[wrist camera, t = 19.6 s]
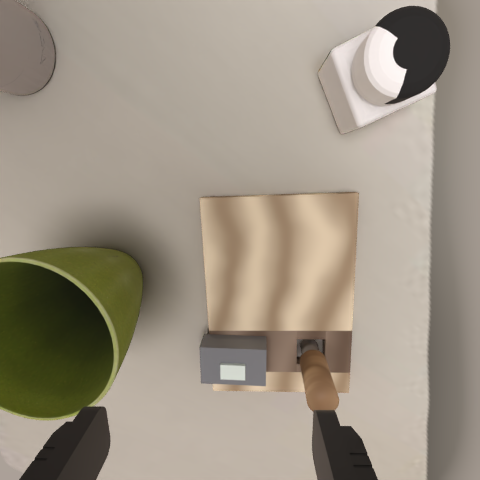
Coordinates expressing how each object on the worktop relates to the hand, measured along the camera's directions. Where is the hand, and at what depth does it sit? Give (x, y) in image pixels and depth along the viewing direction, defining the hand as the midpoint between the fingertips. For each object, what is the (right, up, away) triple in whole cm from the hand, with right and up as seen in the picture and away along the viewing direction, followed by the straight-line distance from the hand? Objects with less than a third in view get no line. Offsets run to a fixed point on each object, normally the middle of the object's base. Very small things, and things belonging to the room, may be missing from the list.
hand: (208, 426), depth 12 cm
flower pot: (-15, +2, +29) cm, 33 cm away
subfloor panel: (+6, 0, +28) cm, 29 cm away
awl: (+10, -7, +29) cm, 32 cm away
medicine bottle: (+14, +23, +22) cm, 35 cm away
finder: (+1, -8, +29) cm, 30 cm away
